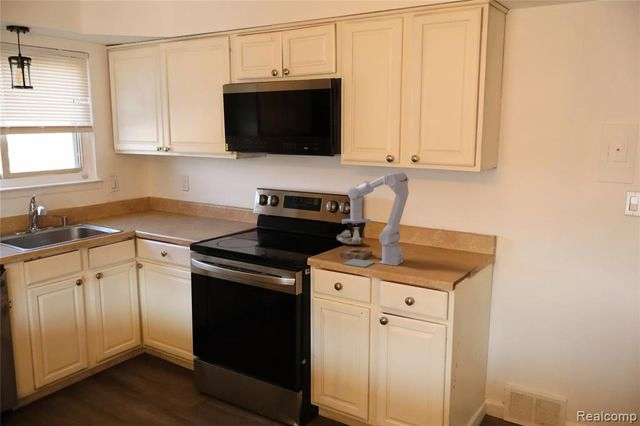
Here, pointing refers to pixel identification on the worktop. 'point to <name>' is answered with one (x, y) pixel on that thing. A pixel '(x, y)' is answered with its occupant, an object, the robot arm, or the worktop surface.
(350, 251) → the bore block
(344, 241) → the rock
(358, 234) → the plug
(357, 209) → the robot arm
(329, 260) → the worktop surface
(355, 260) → the mat
